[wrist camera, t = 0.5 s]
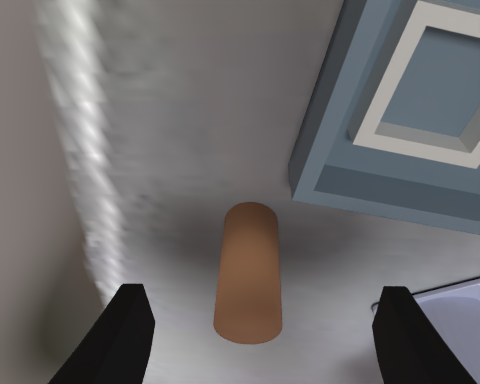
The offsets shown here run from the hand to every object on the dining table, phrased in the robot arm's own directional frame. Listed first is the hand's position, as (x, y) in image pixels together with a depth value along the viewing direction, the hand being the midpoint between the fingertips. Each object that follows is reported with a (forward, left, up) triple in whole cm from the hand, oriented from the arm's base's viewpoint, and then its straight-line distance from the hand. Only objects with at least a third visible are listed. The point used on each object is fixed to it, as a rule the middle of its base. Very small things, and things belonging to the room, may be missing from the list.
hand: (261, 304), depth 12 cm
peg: (-5, +3, -10) cm, 11 cm away
